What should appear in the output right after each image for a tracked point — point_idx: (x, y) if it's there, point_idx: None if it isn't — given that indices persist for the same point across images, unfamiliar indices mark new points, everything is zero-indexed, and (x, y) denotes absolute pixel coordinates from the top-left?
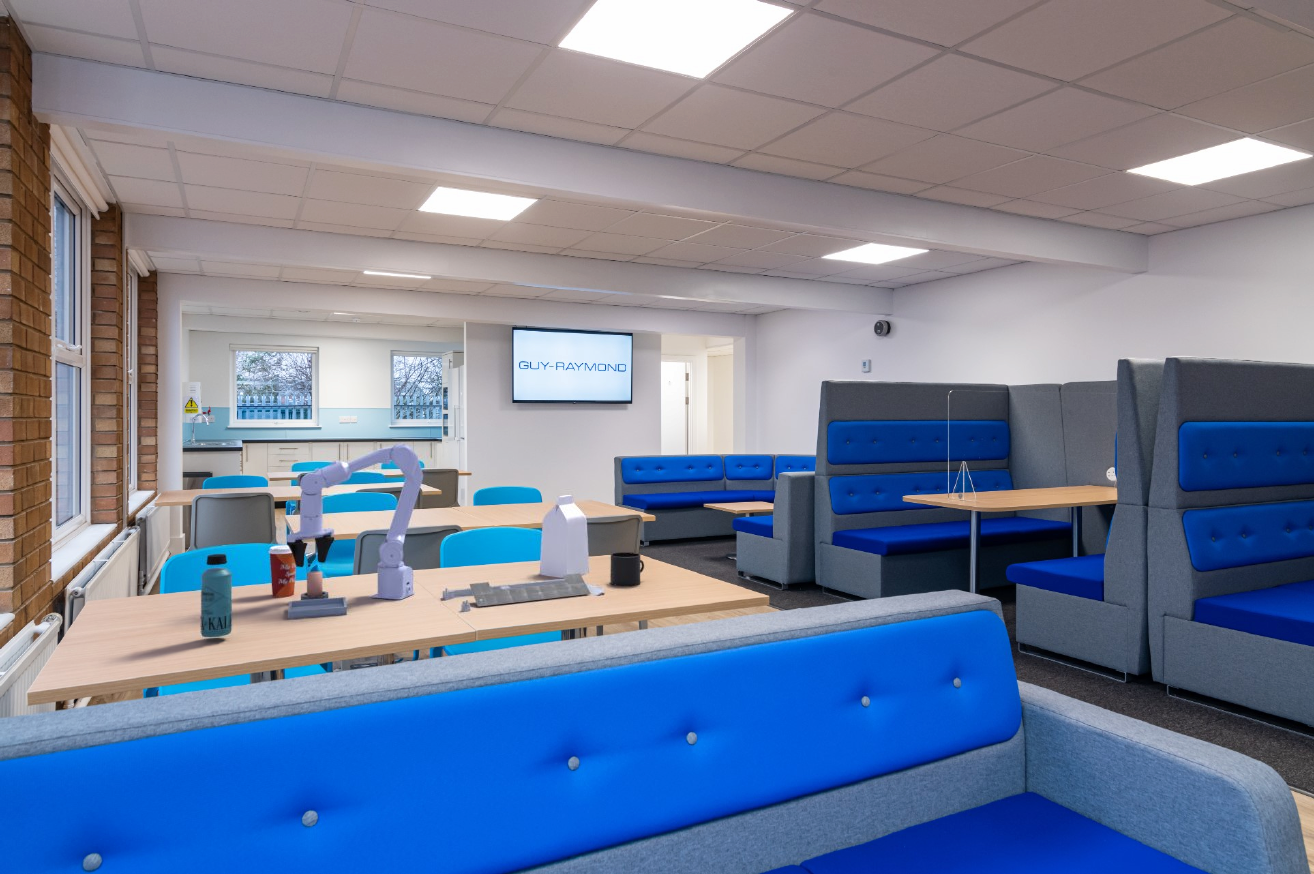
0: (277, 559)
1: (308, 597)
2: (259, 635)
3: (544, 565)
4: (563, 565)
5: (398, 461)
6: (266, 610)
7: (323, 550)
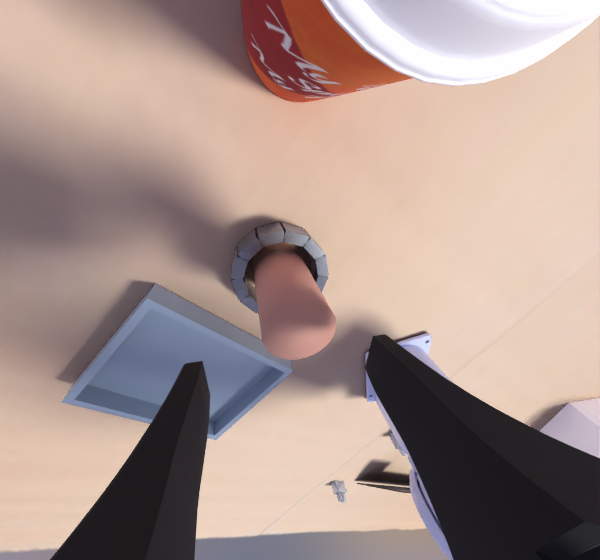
0: None
1: (237, 294)
2: None
3: (581, 423)
4: None
5: None
6: (67, 236)
7: (414, 440)
